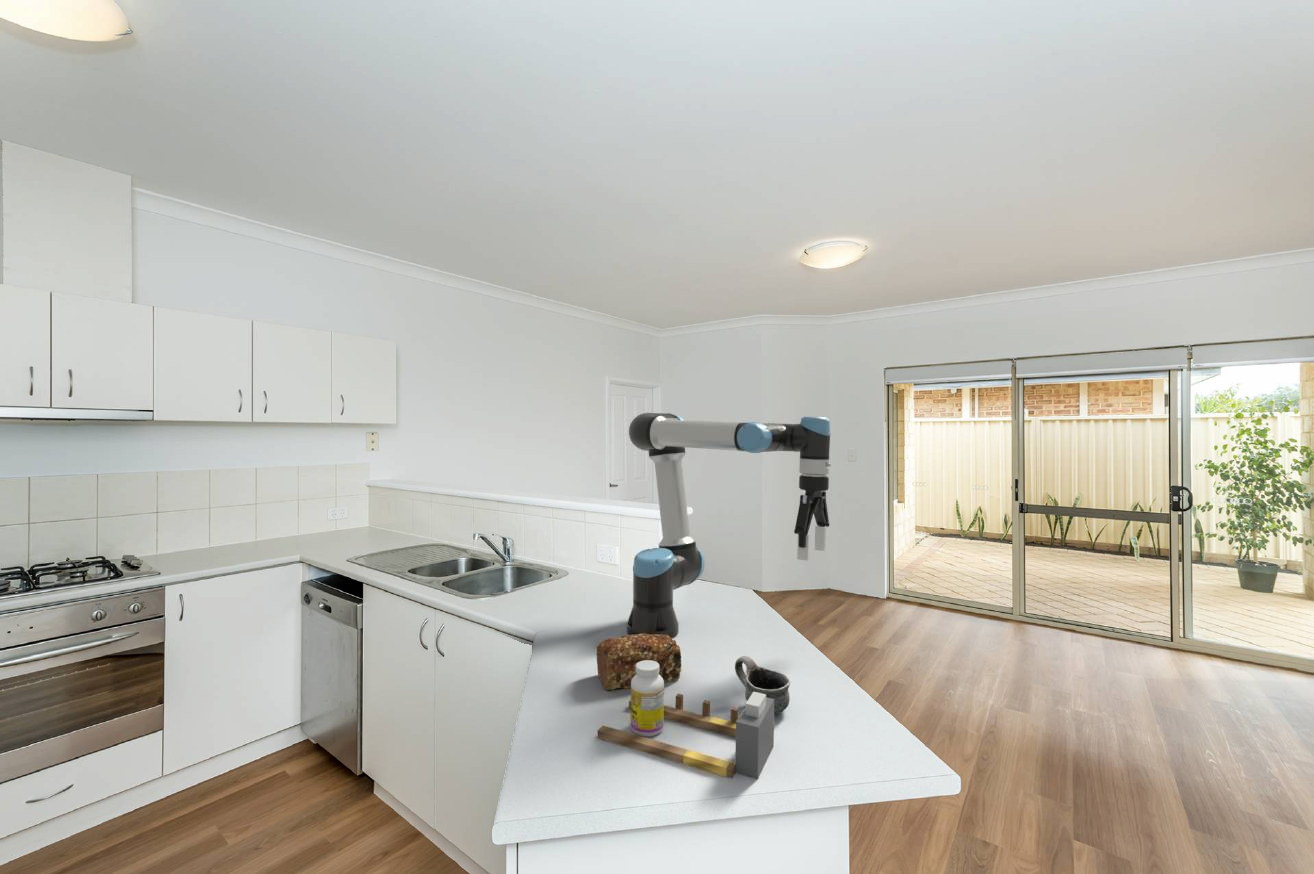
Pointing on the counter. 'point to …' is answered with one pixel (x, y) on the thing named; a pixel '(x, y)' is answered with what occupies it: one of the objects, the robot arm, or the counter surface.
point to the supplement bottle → (647, 699)
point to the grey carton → (754, 735)
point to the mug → (764, 683)
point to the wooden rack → (679, 753)
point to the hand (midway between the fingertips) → (811, 554)
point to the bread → (636, 658)
